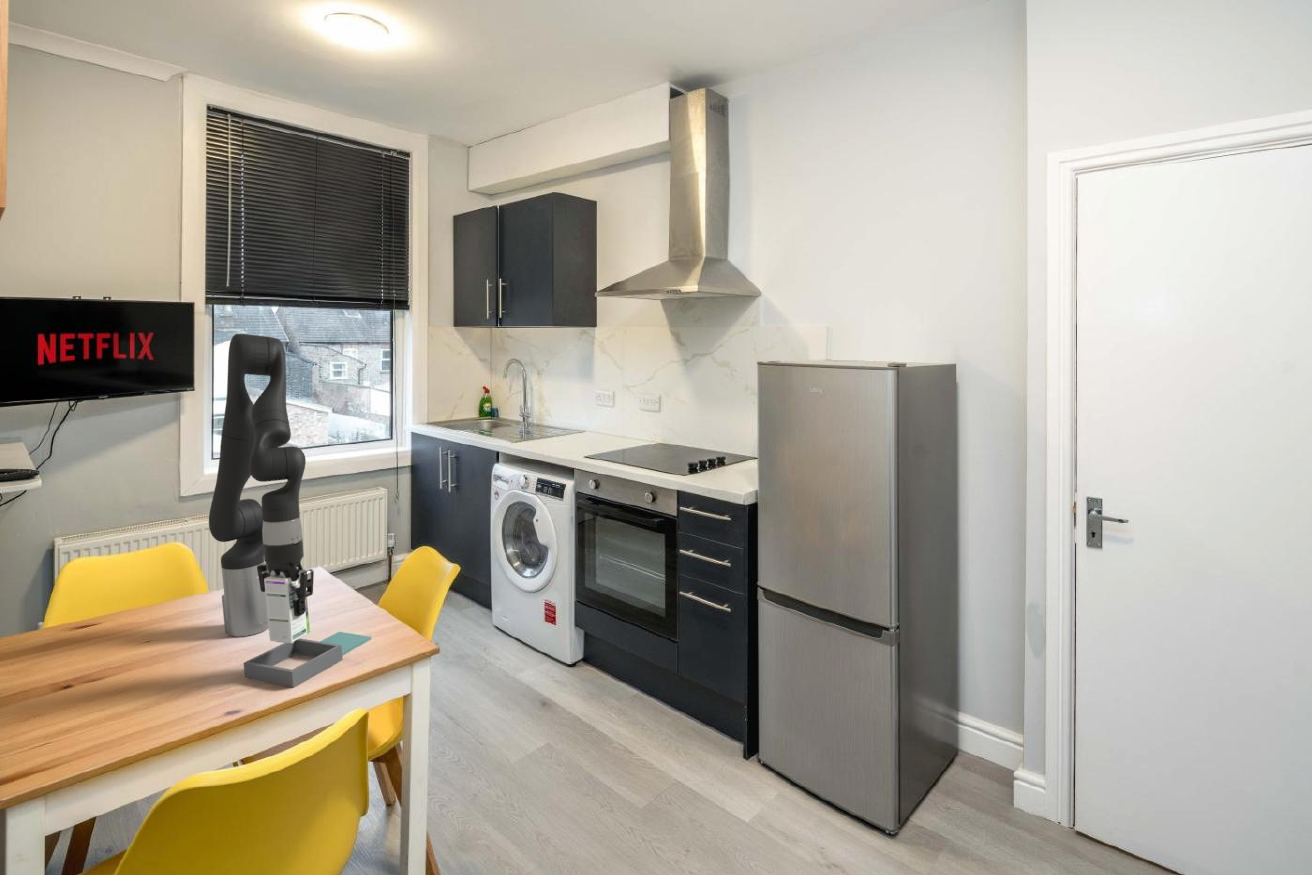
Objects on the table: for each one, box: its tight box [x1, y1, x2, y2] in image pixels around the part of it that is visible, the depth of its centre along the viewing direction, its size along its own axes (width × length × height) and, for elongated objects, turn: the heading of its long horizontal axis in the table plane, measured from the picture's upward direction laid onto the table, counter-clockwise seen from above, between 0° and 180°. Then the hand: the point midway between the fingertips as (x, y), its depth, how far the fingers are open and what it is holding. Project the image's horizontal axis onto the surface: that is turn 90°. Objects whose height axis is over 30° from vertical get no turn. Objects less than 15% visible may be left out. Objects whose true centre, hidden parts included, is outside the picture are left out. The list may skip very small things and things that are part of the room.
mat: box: [319, 631, 372, 656], centre depth 164 cm, size 10×10×1 cm
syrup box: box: [264, 575, 311, 644], centre depth 150 cm, size 6×6×14 cm
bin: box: [243, 637, 343, 688], centre depth 152 cm, size 14×14×4 cm
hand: (288, 612), depth 150 cm, fingers closed on syrup box, 6 cm apart
